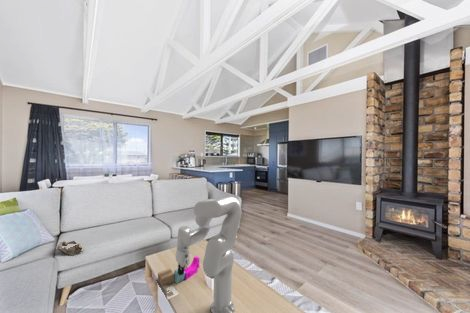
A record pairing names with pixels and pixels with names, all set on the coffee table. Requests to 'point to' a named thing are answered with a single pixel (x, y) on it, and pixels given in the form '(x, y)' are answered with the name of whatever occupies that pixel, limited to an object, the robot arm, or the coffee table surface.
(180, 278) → the teal cube
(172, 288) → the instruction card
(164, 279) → the base brick
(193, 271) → the magenta curved piece
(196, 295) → the coffee table surface
